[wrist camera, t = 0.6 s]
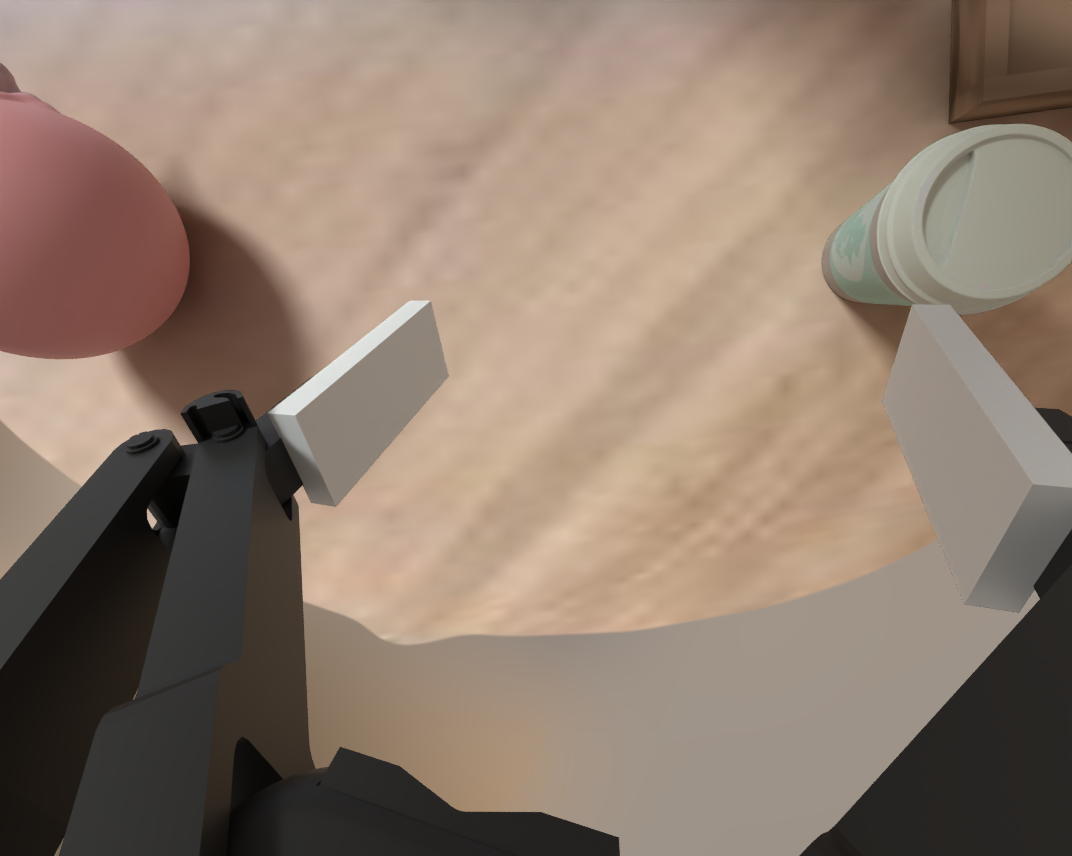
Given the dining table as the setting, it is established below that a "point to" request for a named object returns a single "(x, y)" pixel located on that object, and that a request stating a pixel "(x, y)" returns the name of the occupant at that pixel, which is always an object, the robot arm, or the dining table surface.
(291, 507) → the robot arm
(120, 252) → the pink balloon
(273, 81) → the dining table surface
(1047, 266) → the coffee cup
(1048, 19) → the wooden tray
